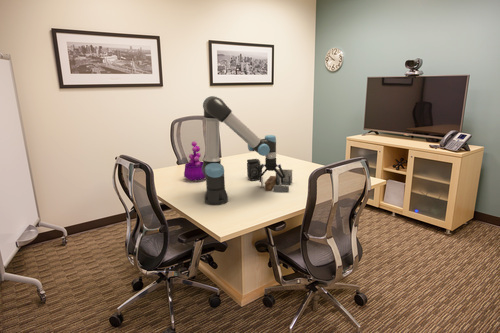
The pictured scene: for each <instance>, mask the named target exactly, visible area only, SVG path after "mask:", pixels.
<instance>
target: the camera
mask: <svg viewBox="0 0 500 333" xmlns="http://www.w3.org/2000/svg"><path fill="white" fill-rule="evenodd" d="M246 161H247V162H246V168H247V169H246V170H247V171H246V174H247V175H246V176H247V178H248V180H249V181H255V180H256V181H258V180H259V177H257V174H258V172H259V170H260V168H261V164H262V163H261V160H260V159H258V158H252V159H247V160H246ZM262 173H263V169H262V170H261V172H260V174H259V175H261V174H262Z"/></svg>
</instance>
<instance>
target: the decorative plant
mask: <svg viewBox="0 0 500 333" xmlns="http://www.w3.org/2000/svg"><path fill="white" fill-rule="evenodd" d="M197 144H198V142H196V141H192V142H191V146H192V148H191V150H192V152H193V153H191V154H189V155H188V158H189V161H188V162H186V163H185V164H184V172H183V177H185V179H187V180H189V181H195V182H197V181H202V180H204V179H206V178H205V176H204V174H203V172H202V166H203V160H202V161H201V160H200V158H201V157H202V155H201V153H200V151H201V147H200V146H198V145H197Z"/></svg>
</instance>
